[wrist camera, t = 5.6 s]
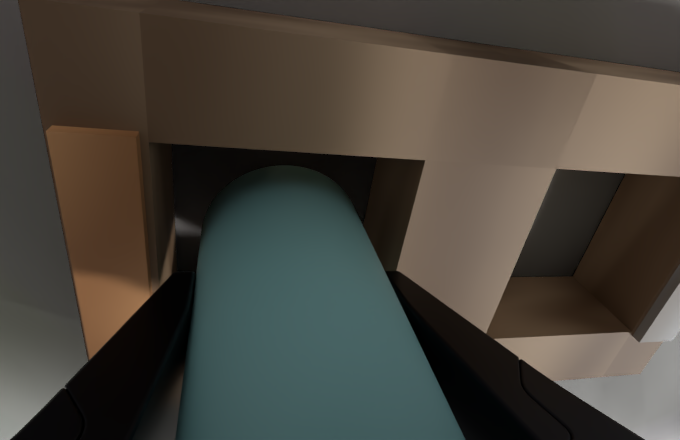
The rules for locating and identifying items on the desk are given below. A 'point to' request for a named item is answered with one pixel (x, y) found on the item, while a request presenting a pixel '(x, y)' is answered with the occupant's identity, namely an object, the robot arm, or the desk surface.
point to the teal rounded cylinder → (300, 324)
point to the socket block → (372, 141)
